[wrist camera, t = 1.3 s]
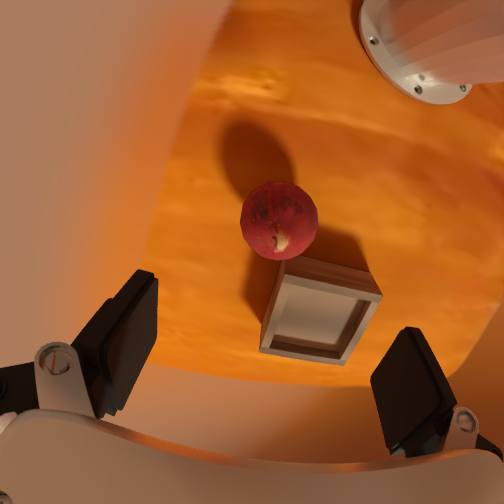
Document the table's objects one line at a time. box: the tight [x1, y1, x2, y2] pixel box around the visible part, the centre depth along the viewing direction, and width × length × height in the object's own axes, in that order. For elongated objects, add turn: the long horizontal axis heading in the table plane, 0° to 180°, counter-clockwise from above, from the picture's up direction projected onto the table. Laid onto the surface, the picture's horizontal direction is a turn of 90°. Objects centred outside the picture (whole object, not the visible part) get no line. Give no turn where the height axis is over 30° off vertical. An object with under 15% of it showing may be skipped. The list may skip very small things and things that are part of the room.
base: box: [259, 255, 383, 366], centre depth 26 cm, size 9×9×4 cm
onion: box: [240, 181, 318, 261], centre depth 21 cm, size 6×6×8 cm
